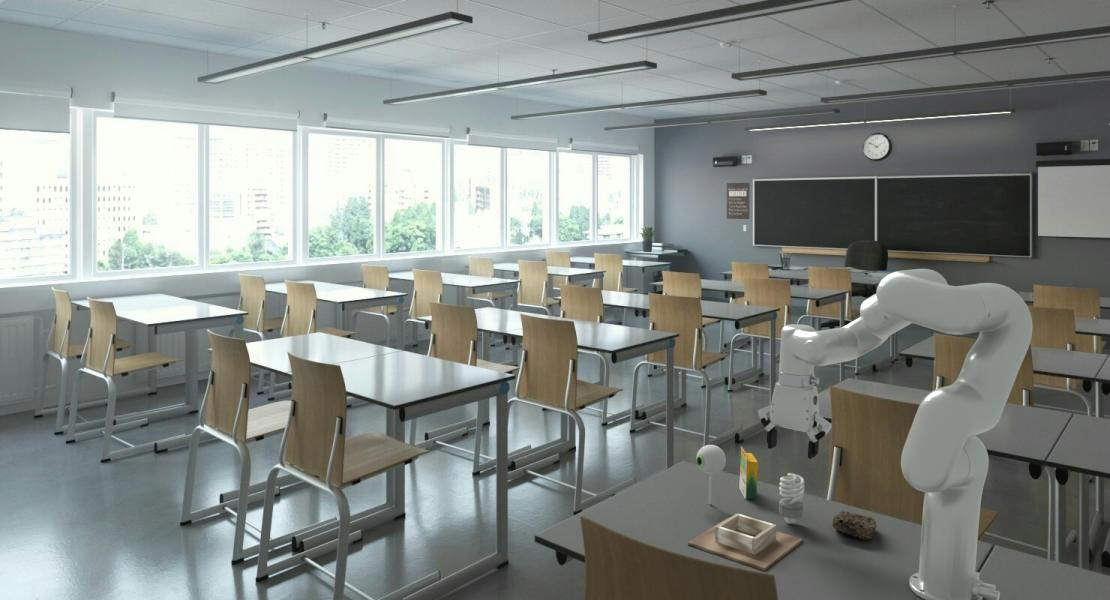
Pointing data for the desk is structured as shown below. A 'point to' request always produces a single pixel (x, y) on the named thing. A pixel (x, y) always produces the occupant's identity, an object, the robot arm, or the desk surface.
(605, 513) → the desk surface
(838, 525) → the concrete sample
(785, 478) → the light bulb
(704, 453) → the lollipop
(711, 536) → the wooden box on board
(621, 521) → the desk surface
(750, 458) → the crayon box
